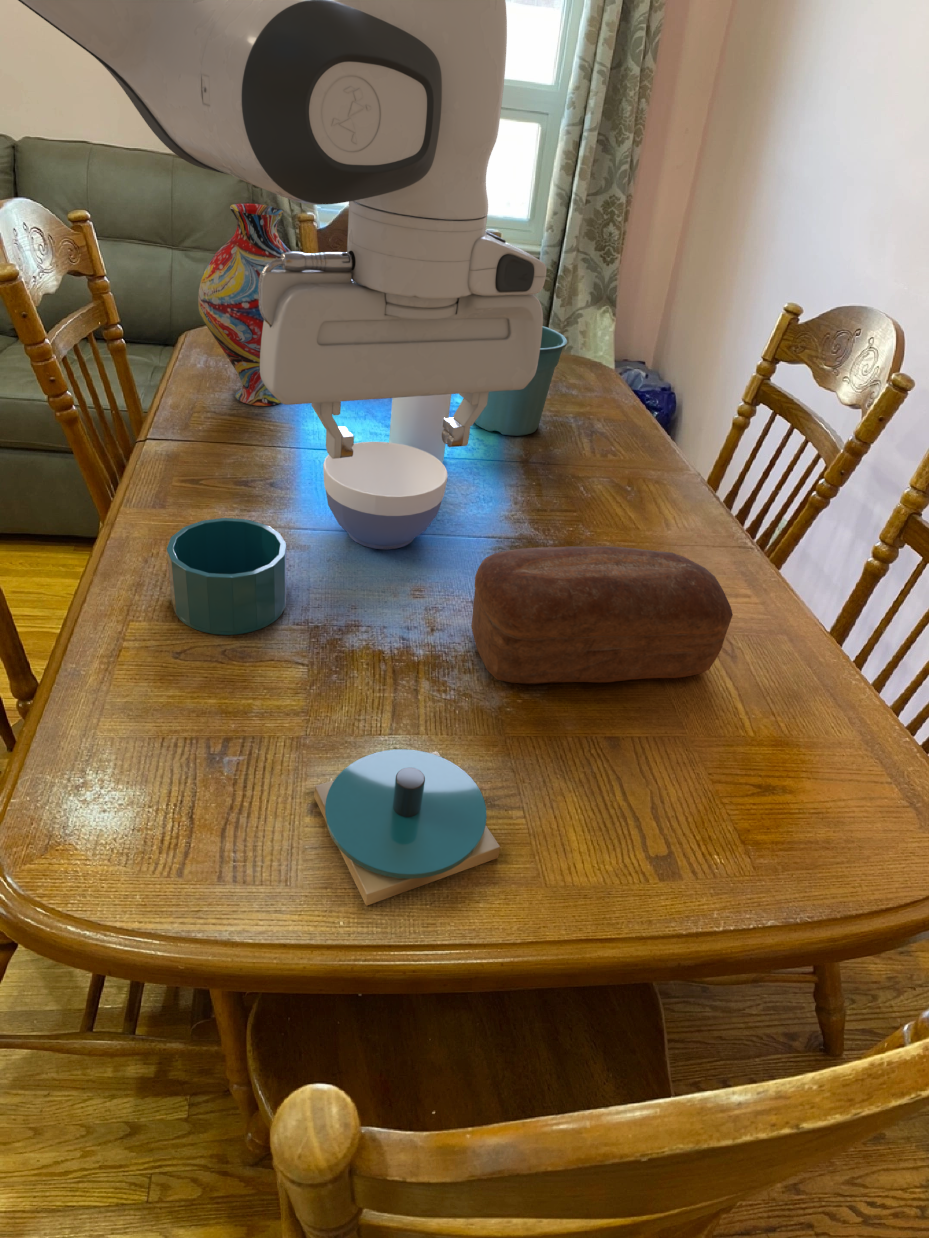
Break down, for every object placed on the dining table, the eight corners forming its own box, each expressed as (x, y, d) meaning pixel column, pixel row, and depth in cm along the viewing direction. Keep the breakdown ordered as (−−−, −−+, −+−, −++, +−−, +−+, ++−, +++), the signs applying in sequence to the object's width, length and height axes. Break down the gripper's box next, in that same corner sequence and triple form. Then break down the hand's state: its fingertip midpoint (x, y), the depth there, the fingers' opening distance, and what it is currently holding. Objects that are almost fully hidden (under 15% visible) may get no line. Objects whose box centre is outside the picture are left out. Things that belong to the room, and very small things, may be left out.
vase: (207, 374, 149) (197, 191, 132) (313, 380, 153) (317, 204, 136) (199, 415, 134) (186, 215, 117) (316, 421, 138) (321, 228, 121)
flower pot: (464, 400, 155) (475, 312, 145) (550, 413, 155) (567, 327, 145) (455, 433, 141) (466, 339, 132) (549, 448, 141) (567, 355, 132)
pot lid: (361, 907, 62) (364, 868, 59) (302, 781, 71) (302, 743, 69) (514, 851, 68) (523, 814, 65) (441, 743, 77) (446, 705, 75)
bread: (456, 621, 96) (469, 530, 89) (674, 616, 103) (702, 531, 96) (482, 699, 86) (500, 603, 78) (724, 688, 92) (760, 598, 85)
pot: (187, 644, 87) (182, 585, 83) (162, 582, 95) (156, 526, 91) (300, 622, 92) (301, 566, 88) (267, 565, 101) (266, 512, 97)
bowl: (445, 513, 117) (453, 451, 112) (432, 571, 104) (440, 505, 99) (335, 496, 117) (338, 434, 112) (308, 553, 104) (310, 485, 99)
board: (365, 906, 64) (367, 894, 63) (313, 797, 72) (314, 785, 71) (498, 858, 69) (500, 846, 68) (435, 761, 78) (437, 750, 77)
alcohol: (452, 470, 129) (478, 270, 112) (401, 476, 125) (420, 270, 108) (428, 447, 135) (448, 253, 118) (378, 452, 131) (392, 252, 114)
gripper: (273, 264, 47) (275, 482, 55) (567, 268, 56) (533, 454, 64) (243, 238, 51) (249, 443, 59) (521, 245, 60) (494, 422, 68)
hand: (398, 449), depth 62 cm, fingers open, 8 cm apart
